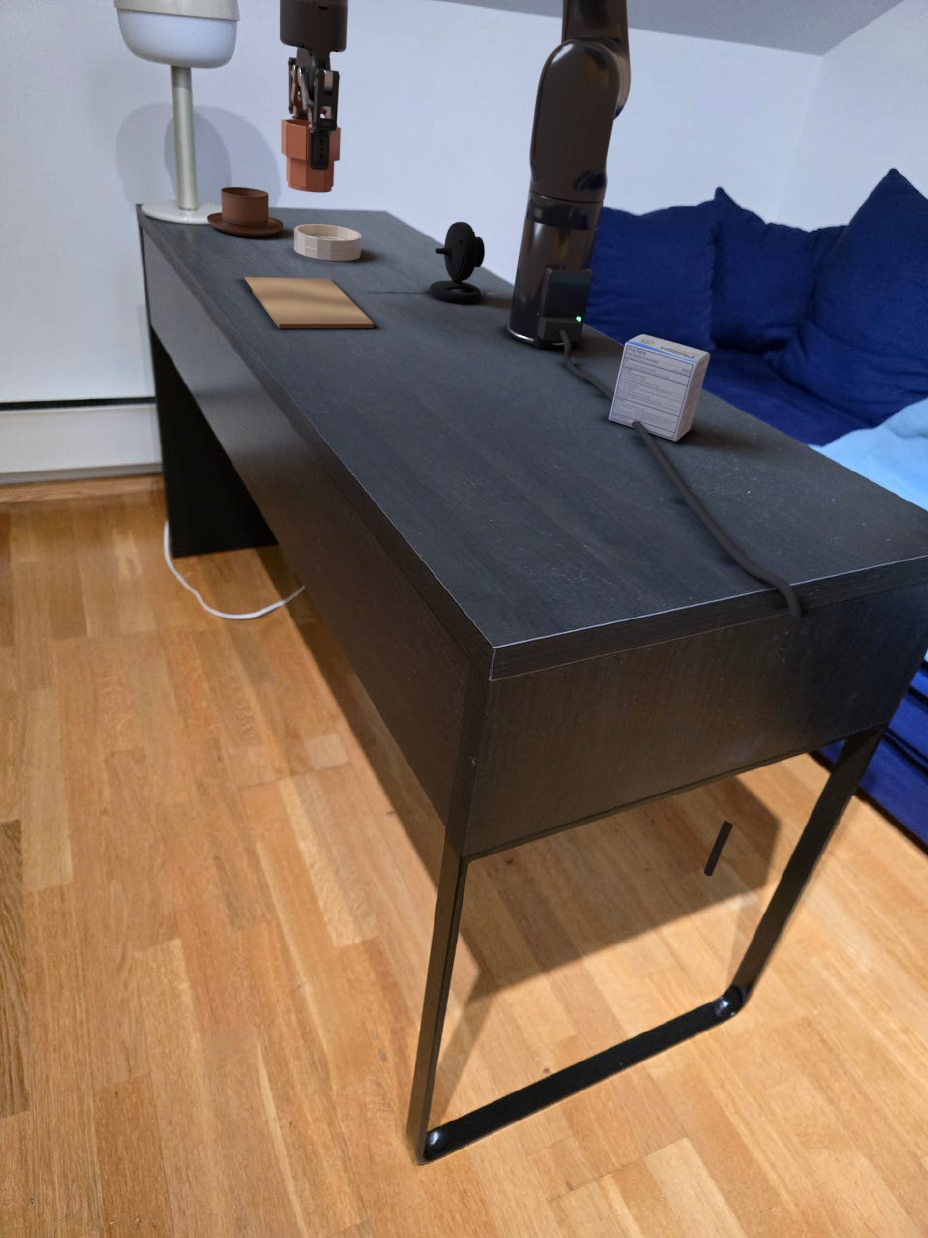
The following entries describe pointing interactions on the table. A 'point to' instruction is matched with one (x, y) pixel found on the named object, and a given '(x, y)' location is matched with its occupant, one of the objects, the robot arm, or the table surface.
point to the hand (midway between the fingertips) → (310, 162)
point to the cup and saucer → (245, 213)
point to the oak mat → (307, 303)
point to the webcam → (460, 264)
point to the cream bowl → (327, 242)
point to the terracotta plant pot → (307, 157)
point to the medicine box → (659, 386)
